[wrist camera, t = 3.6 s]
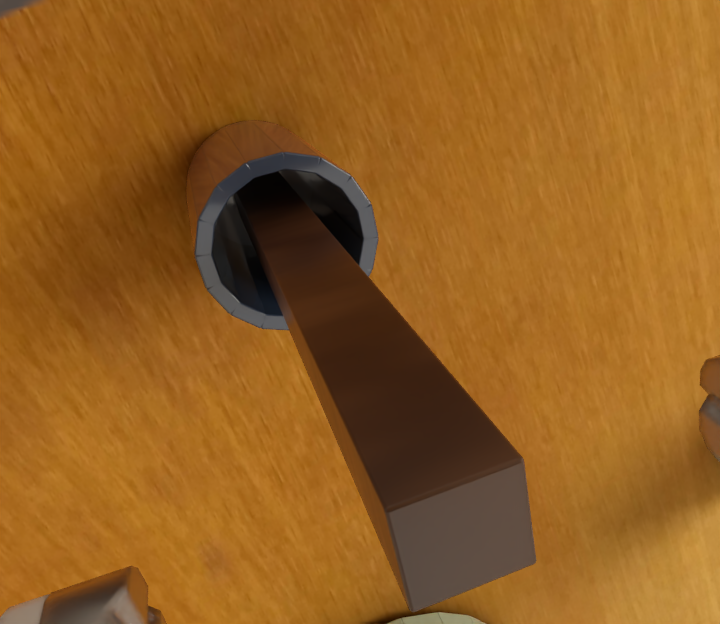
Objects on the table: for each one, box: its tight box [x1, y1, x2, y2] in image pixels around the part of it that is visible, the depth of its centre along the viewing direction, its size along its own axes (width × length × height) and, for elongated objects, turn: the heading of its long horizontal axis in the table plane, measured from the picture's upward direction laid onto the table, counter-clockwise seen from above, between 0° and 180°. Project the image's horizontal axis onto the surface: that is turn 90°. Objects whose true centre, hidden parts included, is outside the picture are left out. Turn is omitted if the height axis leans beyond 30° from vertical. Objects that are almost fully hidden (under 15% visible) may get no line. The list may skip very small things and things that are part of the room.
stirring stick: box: [234, 171, 536, 612], centre depth 17 cm, size 2×2×20 cm
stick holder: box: [186, 120, 378, 330], centre depth 23 cm, size 5×5×8 cm
